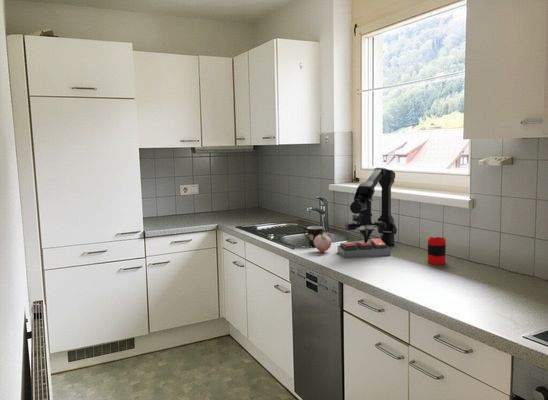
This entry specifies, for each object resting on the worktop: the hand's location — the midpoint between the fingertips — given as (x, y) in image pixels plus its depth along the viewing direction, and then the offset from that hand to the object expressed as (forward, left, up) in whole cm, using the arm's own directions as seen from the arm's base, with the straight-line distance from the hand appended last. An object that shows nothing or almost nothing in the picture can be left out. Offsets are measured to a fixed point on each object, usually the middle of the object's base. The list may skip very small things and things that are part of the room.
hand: (365, 243), depth 227 cm
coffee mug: (+19, -27, -6) cm, 34 cm away
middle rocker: (0, -3, -2) cm, 4 cm away
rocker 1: (+7, -3, -2) cm, 8 cm away
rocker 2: (-8, -3, -2) cm, 8 cm away
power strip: (0, -3, -6) cm, 7 cm away
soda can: (-27, +20, -6) cm, 34 cm away
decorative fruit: (+18, -11, -6) cm, 23 cm away
